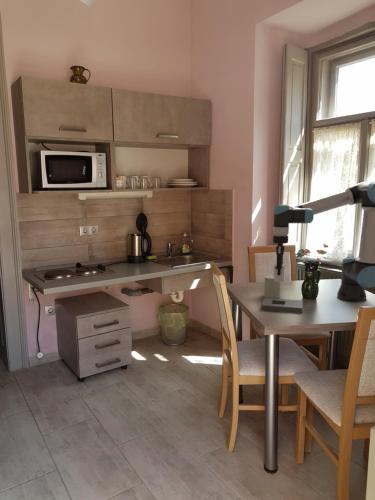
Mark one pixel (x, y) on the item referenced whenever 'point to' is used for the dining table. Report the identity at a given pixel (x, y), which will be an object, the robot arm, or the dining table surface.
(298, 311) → the socket
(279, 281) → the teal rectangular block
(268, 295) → the can
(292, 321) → the dining table surface
